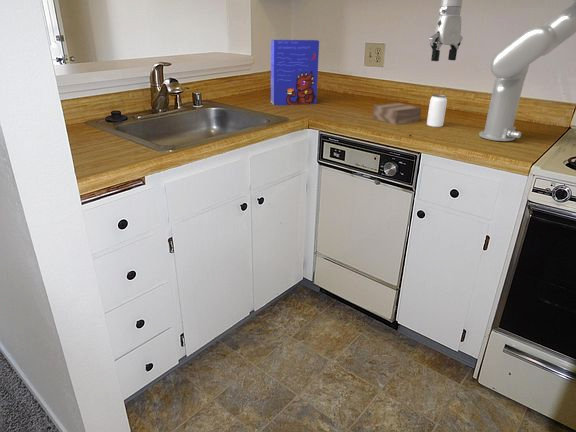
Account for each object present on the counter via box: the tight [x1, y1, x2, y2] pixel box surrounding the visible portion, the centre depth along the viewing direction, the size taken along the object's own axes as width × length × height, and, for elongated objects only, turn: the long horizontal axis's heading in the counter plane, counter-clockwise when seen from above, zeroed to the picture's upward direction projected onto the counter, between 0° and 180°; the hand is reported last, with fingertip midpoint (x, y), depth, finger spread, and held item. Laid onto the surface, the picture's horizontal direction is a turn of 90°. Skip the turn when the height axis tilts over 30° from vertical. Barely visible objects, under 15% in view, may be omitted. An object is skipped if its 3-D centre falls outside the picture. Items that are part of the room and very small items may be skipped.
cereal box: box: [270, 39, 320, 106], centre depth 210 cm, size 22×6×30 cm, turn 105°
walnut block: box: [372, 102, 422, 125], centre depth 187 cm, size 14×14×6 cm
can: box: [426, 94, 448, 128], centre depth 177 cm, size 6×6×12 cm
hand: (443, 60), depth 170 cm, fingers open, 9 cm apart
